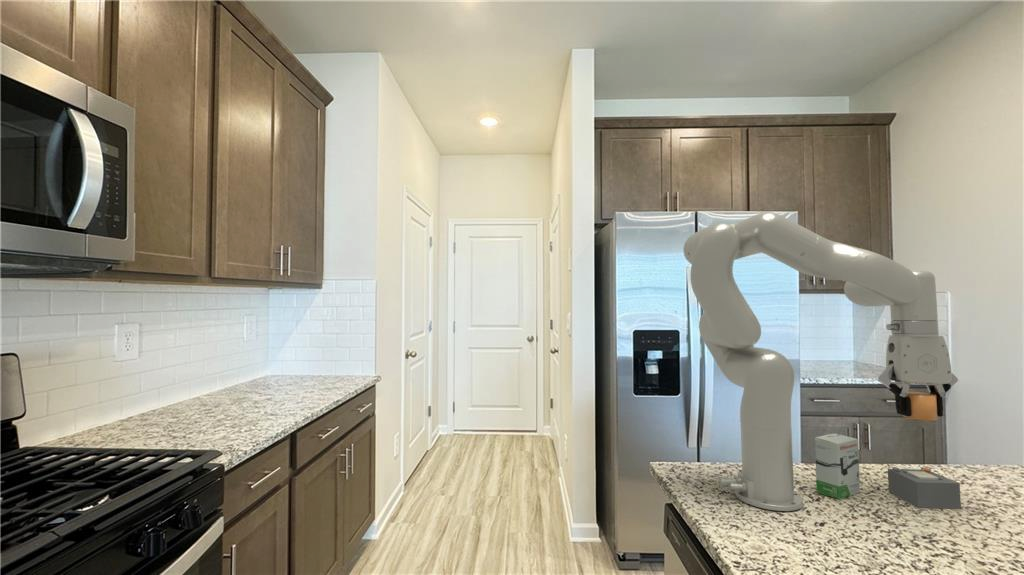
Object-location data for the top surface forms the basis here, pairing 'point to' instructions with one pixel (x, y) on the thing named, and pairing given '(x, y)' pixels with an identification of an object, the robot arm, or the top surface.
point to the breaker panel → (924, 489)
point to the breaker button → (922, 475)
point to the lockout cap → (923, 406)
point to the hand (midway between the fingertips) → (919, 414)
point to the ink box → (837, 465)
